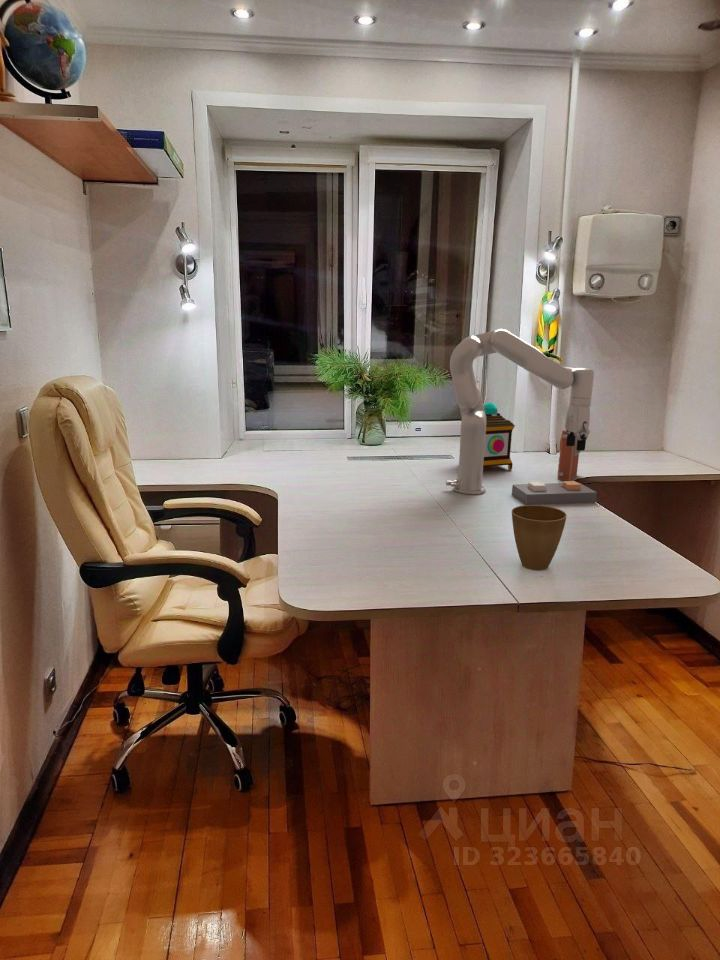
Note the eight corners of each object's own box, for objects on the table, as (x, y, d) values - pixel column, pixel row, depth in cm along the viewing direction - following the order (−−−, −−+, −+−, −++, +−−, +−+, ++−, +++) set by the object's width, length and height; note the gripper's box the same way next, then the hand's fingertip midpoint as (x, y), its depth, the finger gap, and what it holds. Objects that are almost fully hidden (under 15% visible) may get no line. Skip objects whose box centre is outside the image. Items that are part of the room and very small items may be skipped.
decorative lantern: (516, 471, 294) (522, 404, 286) (478, 474, 287) (483, 406, 279) (492, 461, 312) (496, 398, 304) (455, 464, 305) (459, 399, 297)
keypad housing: (526, 504, 244) (527, 494, 243) (511, 494, 257) (512, 484, 256) (595, 502, 249) (597, 492, 248) (577, 492, 262) (579, 482, 261)
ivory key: (533, 493, 248) (534, 485, 248) (527, 489, 253) (528, 482, 252) (545, 493, 249) (546, 485, 248) (540, 489, 254) (540, 481, 253)
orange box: (554, 479, 281) (563, 472, 293) (571, 482, 277) (579, 474, 290) (559, 430, 275) (568, 425, 288) (576, 432, 272) (584, 426, 284)
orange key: (567, 492, 251) (568, 484, 250) (561, 488, 256) (562, 481, 255) (579, 491, 252) (580, 484, 251) (573, 488, 256) (574, 481, 256)
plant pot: (551, 555, 195) (556, 504, 191) (568, 576, 180) (574, 520, 176) (501, 555, 194) (505, 504, 190) (514, 575, 180) (519, 520, 176)
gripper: (560, 398, 252) (555, 443, 257) (582, 405, 236) (577, 453, 240) (578, 398, 254) (573, 443, 258) (601, 405, 237) (596, 453, 242)
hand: (575, 447), depth 249 cm, fingers open, 7 cm apart
